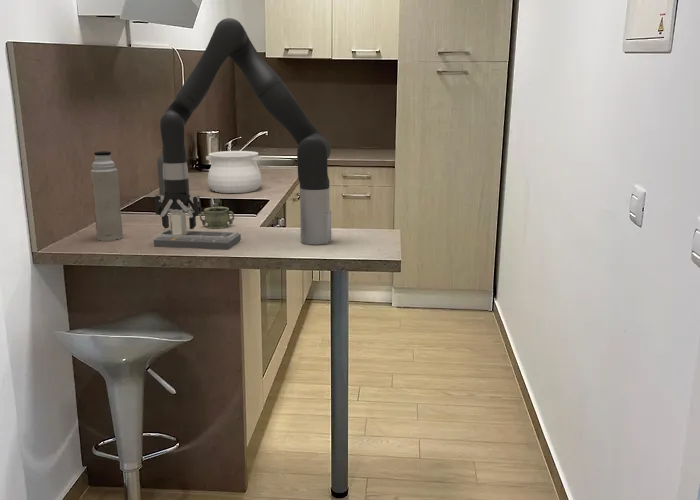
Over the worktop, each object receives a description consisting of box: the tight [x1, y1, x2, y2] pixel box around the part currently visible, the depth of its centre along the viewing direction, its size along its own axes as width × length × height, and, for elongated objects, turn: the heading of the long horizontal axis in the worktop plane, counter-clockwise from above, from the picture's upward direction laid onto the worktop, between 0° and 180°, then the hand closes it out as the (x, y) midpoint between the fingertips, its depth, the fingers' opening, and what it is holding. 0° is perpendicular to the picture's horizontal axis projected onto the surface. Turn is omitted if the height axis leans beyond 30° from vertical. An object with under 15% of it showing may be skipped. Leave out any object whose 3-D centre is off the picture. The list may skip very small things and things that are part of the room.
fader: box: [171, 212, 188, 235], centre depth 215 cm, size 3×5×7 cm, turn 170°
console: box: [153, 229, 242, 250], centre depth 215 cm, size 24×12×3 cm, turn 80°
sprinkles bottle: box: [168, 209, 184, 230], centre depth 232 cm, size 5×5×13 cm
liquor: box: [156, 151, 165, 196], centre depth 295 cm, size 9×9×30 cm
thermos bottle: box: [90, 151, 124, 242], centre depth 219 cm, size 8×8×28 cm
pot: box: [205, 150, 263, 194], centre depth 314 cm, size 26×24×17 cm
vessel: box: [199, 206, 235, 230], centre depth 239 cm, size 12×9×6 cm
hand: (179, 228), depth 216 cm, fingers open, 8 cm apart
